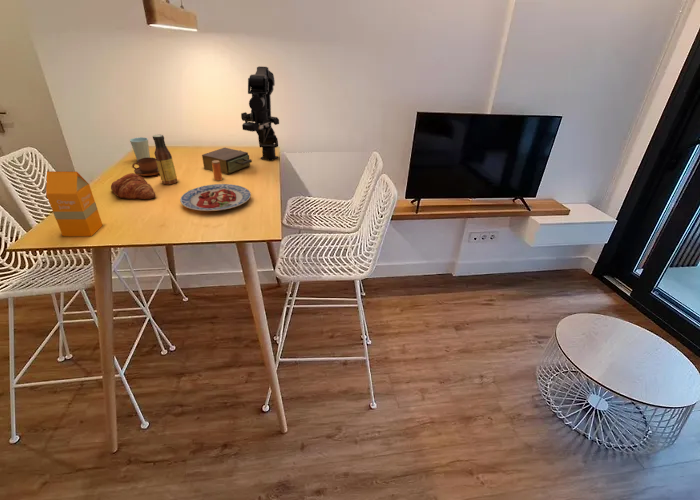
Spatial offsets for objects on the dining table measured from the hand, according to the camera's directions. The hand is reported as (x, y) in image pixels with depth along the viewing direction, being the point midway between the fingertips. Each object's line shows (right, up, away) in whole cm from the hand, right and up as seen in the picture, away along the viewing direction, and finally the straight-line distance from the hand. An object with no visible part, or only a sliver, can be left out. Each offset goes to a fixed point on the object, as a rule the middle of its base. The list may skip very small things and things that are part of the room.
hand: (262, 143), depth 173 cm
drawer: (-15, -9, +7) cm, 19 cm away
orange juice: (-47, -42, -49) cm, 80 cm away
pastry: (-46, -27, -22) cm, 57 cm away
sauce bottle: (-38, -20, -10) cm, 44 cm away
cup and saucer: (-50, -14, -2) cm, 52 cm away
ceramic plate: (-12, -30, -25) cm, 41 cm away
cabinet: (-19, -9, +9) cm, 23 cm away
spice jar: (-19, -17, -5) cm, 26 cm away
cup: (-61, -5, +13) cm, 62 cm away
